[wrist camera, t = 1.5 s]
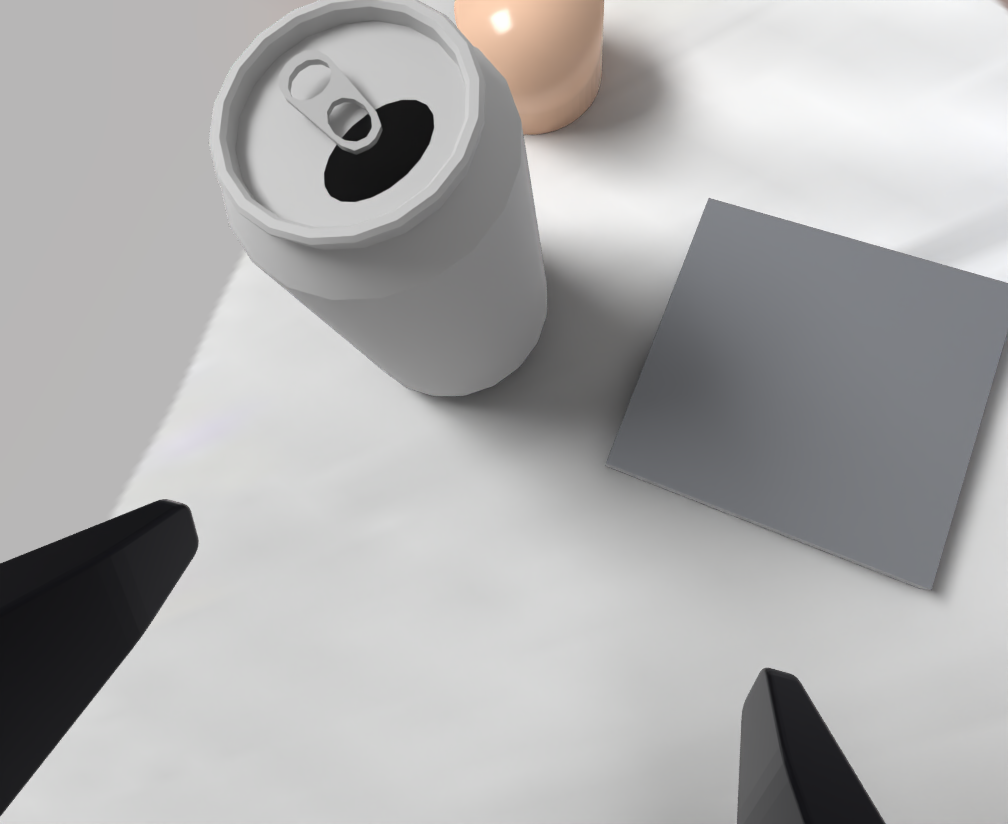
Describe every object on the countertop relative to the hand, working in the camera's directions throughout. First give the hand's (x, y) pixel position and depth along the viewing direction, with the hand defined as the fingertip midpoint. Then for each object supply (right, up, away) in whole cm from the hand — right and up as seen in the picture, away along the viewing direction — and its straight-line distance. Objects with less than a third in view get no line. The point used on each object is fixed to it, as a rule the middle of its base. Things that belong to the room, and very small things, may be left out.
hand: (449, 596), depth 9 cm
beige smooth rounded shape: (+2, +17, +17) cm, 24 cm away
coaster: (+12, +4, +13) cm, 18 cm away
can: (-1, +7, +15) cm, 17 cm away
